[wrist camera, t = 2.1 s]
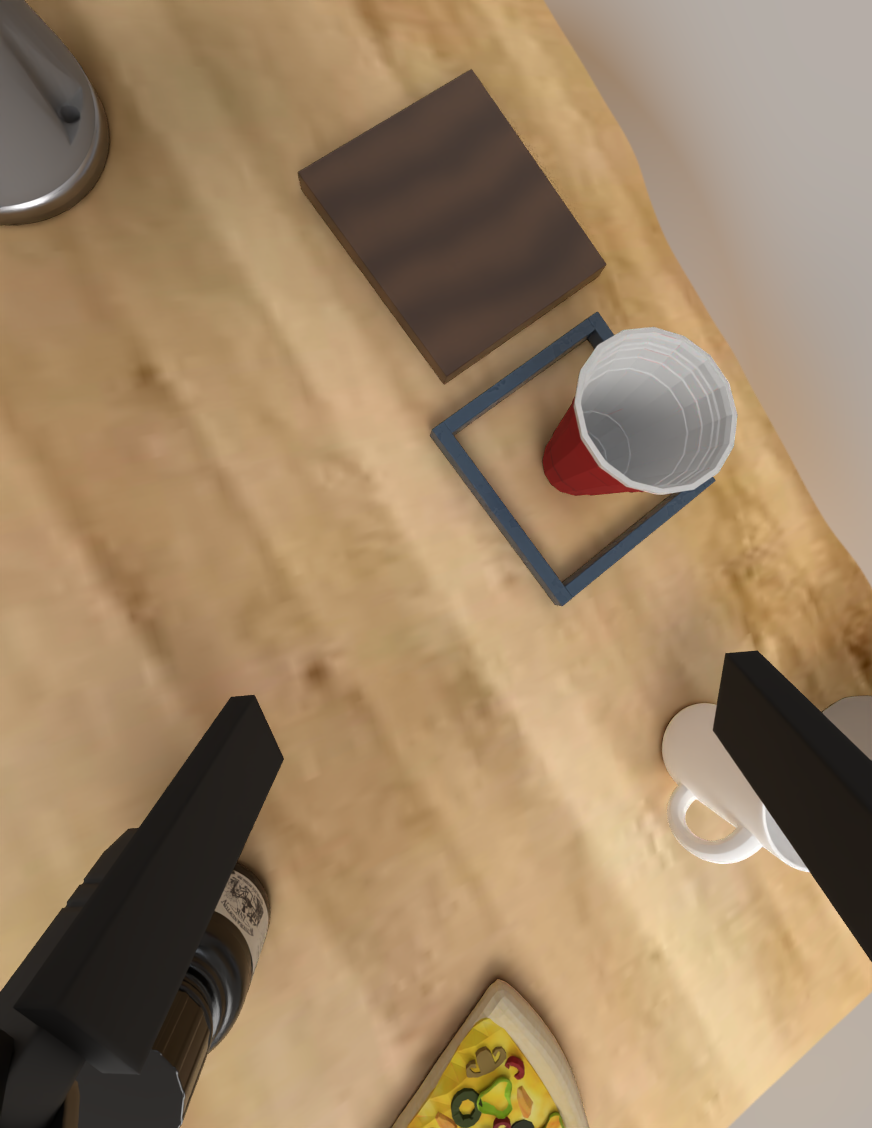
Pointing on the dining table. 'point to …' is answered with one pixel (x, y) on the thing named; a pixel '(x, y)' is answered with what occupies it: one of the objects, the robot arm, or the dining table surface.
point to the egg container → (854, 720)
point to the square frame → (497, 510)
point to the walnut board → (452, 224)
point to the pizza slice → (499, 1073)
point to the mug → (716, 793)
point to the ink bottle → (187, 1019)
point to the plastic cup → (643, 419)
